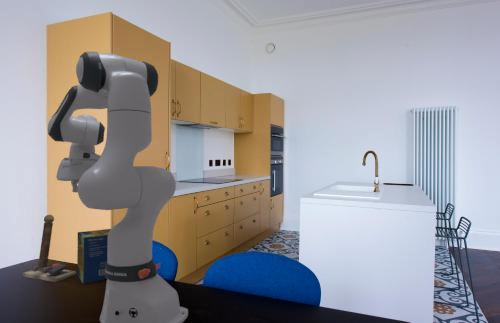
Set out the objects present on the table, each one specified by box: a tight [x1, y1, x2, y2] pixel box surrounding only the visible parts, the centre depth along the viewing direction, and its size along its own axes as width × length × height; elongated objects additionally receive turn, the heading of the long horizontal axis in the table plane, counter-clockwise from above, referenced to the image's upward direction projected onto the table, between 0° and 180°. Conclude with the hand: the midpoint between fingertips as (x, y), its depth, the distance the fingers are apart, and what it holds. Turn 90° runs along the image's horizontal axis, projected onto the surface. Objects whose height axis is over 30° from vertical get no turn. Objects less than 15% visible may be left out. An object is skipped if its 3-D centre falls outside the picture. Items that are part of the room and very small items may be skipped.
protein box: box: [76, 228, 111, 285], centre depth 119 cm, size 10×15×16 cm
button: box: [51, 263, 61, 269], centre depth 120 cm, size 3×3×2 cm
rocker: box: [48, 264, 68, 275], centre depth 117 cm, size 3×5×1 cm, turn 160°
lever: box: [37, 214, 55, 270], centre depth 121 cm, size 3×3×20 cm
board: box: [21, 265, 77, 283], centre depth 119 cm, size 16×8×3 cm, turn 70°
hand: (76, 192), depth 128 cm, fingers closed
